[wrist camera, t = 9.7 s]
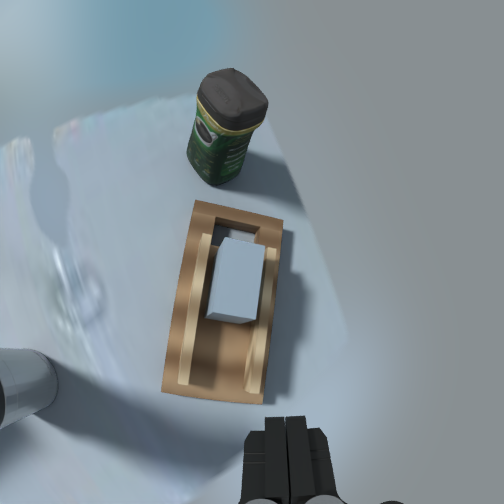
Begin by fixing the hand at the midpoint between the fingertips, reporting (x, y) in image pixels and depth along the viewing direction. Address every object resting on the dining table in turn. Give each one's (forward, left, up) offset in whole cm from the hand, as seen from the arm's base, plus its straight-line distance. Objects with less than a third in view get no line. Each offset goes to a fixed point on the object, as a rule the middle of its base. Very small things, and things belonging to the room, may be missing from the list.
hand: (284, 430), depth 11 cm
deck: (+10, +4, -35) cm, 36 cm away
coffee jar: (+26, +22, -35) cm, 48 cm away
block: (+11, +5, -32) cm, 34 cm away
